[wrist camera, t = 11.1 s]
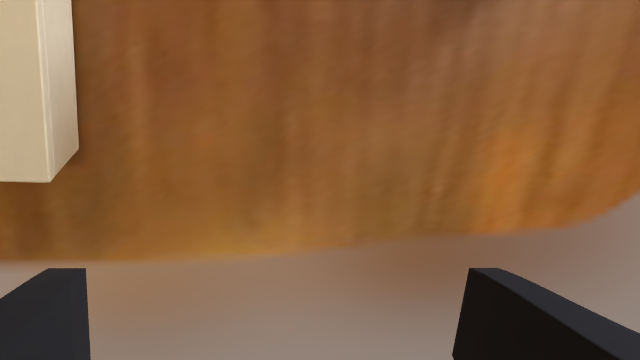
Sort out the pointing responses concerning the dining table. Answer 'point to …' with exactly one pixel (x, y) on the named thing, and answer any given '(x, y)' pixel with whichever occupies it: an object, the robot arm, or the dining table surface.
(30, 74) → the beige flat block
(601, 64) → the dining table surface
